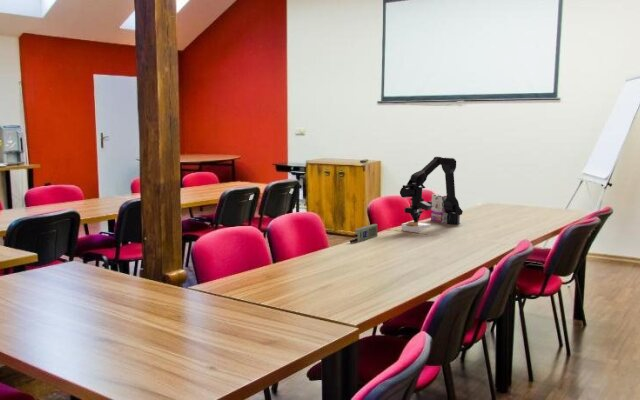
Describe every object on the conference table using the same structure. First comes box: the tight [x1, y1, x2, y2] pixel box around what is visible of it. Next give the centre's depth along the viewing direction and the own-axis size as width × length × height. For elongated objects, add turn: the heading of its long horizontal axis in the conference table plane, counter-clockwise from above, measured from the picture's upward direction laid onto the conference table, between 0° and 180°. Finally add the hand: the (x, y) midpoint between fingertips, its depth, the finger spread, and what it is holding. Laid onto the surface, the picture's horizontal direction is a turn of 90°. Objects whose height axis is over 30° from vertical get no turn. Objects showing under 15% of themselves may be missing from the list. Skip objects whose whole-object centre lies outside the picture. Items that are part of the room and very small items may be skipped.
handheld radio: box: [349, 223, 378, 244], centre depth 304 cm, size 7×3×25 cm
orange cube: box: [407, 221, 419, 226], centre depth 330 cm, size 4×4×4 cm
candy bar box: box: [430, 193, 448, 224], centre depth 357 cm, size 11×5×16 cm, turn 26°
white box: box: [401, 220, 431, 233], centre depth 334 cm, size 10×18×4 cm, turn 144°
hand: (416, 223), depth 333 cm, fingers closed
